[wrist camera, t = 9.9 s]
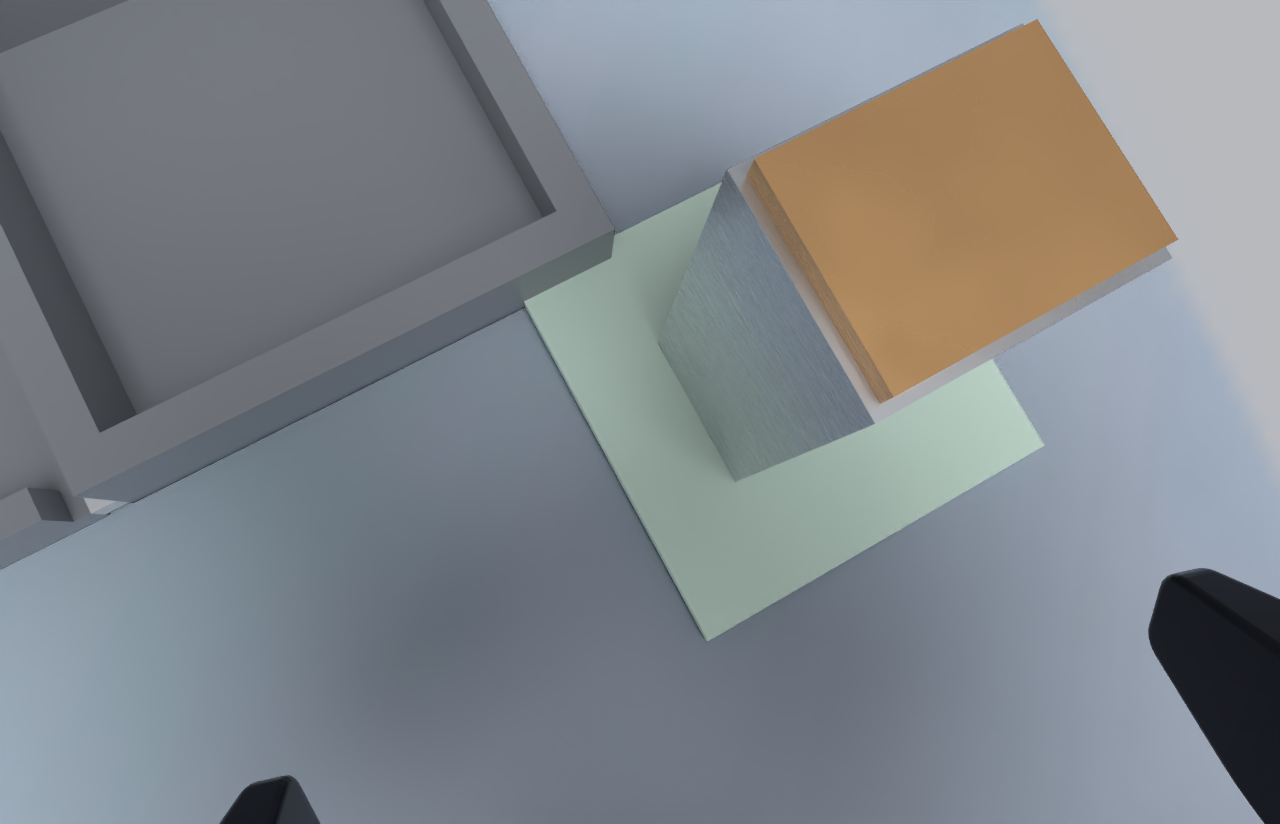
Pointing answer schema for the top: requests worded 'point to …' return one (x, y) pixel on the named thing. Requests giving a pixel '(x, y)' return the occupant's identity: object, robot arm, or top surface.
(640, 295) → the mat
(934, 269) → the block
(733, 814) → the top surface
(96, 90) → the grey compartment tray
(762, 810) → the top surface
